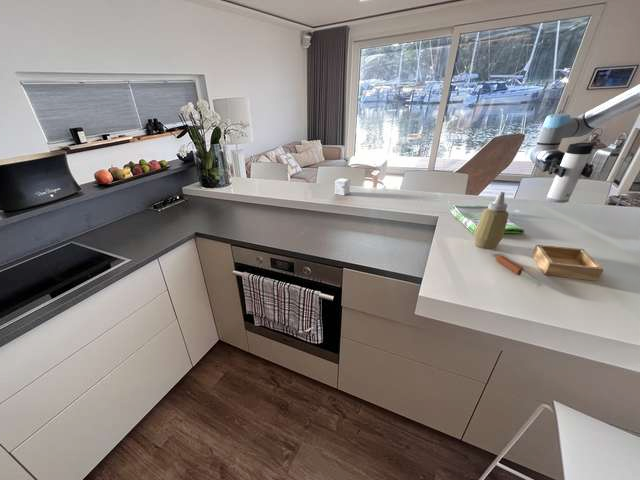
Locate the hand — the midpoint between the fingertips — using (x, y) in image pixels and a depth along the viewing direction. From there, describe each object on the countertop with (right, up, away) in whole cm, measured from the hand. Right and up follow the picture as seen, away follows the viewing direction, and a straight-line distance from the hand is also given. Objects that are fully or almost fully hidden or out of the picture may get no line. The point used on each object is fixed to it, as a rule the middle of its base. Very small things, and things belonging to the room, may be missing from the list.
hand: (576, 173), depth 96 cm
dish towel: (-21, -15, +15) cm, 30 cm away
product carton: (-66, +8, +61) cm, 90 cm away
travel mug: (+3, -7, +10) cm, 12 cm away
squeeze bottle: (-31, -25, 0) cm, 40 cm away
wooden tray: (-19, -32, -15) cm, 40 cm away
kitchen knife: (-33, -34, -16) cm, 50 cm away
